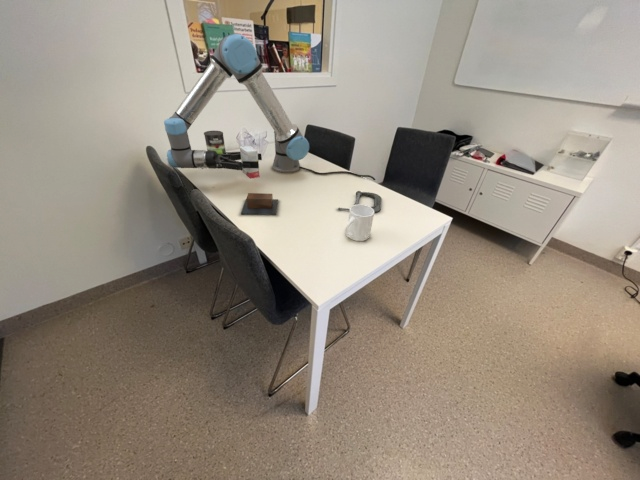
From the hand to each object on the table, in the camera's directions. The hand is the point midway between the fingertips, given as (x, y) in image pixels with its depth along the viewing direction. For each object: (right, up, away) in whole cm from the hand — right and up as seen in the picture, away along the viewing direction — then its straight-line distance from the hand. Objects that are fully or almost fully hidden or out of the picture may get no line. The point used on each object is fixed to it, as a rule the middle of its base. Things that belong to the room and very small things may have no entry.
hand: (260, 160), depth 115 cm
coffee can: (-35, +15, +42) cm, 57 cm away
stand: (+1, -21, -4) cm, 21 cm away
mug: (+39, -34, -17) cm, 55 cm away
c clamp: (+45, -18, +4) cm, 49 cm away
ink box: (-5, -5, +4) cm, 8 cm away
